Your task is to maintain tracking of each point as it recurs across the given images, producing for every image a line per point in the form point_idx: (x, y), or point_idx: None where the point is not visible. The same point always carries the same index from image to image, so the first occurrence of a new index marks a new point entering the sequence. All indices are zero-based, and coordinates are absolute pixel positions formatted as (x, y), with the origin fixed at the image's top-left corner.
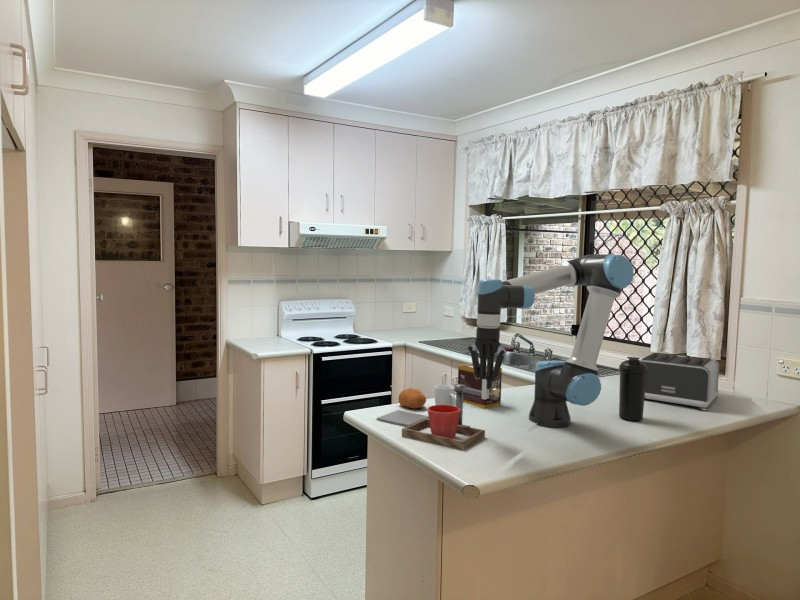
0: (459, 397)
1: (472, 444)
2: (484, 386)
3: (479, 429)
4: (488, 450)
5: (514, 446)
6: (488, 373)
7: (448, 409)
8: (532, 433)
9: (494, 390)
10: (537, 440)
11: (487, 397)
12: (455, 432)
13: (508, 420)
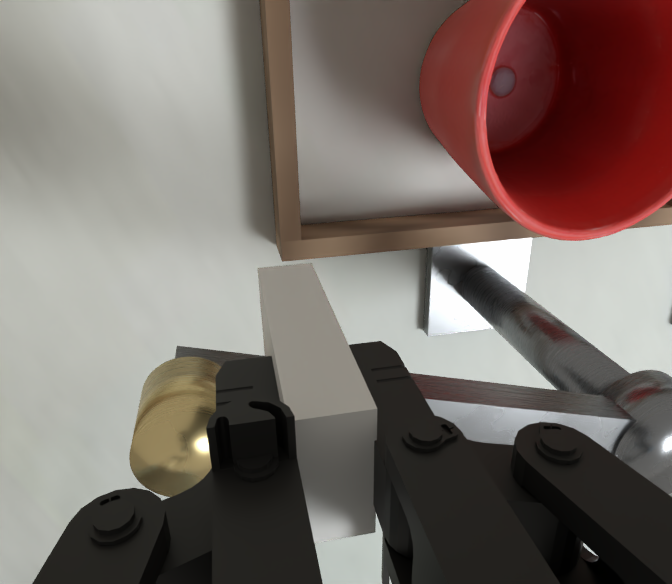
0: (589, 365)
1: (263, 58)
2: (302, 345)
3: (318, 251)
4: (109, 15)
5: (32, 219)
6: (262, 549)
7: (589, 210)
8: (106, 488)
9: (176, 408)
10: (4, 412)
11: (263, 326)
12: (426, 98)
13: (322, 562)
